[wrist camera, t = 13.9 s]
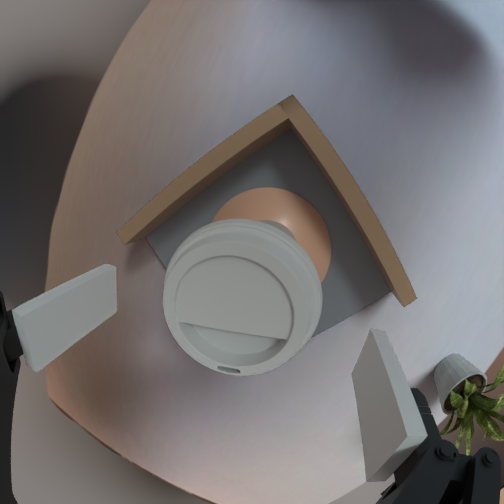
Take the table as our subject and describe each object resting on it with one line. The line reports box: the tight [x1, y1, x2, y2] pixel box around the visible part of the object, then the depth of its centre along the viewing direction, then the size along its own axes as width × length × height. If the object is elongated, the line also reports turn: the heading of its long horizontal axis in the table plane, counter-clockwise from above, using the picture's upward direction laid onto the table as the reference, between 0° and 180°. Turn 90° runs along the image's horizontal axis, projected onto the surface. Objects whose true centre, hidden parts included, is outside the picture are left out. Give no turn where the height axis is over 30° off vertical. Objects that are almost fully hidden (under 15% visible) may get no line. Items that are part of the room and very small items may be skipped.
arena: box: [117, 94, 417, 337], centre depth 27 cm, size 22×22×5 cm
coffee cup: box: [163, 219, 323, 376], centre depth 21 cm, size 10×10×15 cm
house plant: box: [433, 354, 504, 455], centre depth 20 cm, size 14×14×16 cm
